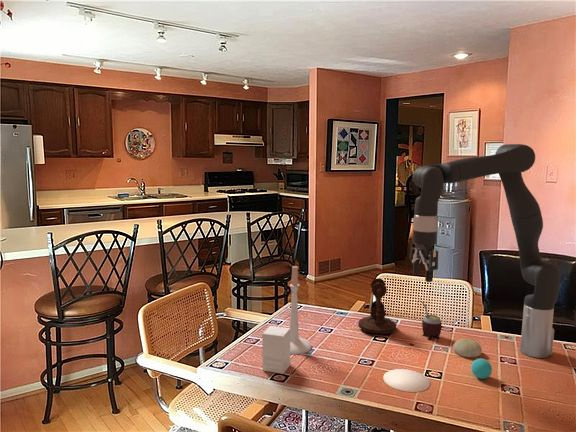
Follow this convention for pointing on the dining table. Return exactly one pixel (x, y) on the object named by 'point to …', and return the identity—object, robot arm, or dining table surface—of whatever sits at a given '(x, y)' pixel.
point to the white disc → (406, 380)
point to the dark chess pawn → (377, 312)
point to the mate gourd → (431, 325)
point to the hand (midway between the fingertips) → (422, 278)
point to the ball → (481, 368)
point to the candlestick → (296, 320)
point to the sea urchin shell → (467, 348)
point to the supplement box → (276, 349)
